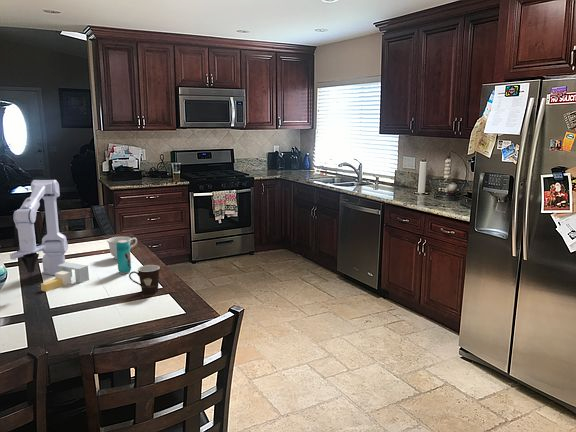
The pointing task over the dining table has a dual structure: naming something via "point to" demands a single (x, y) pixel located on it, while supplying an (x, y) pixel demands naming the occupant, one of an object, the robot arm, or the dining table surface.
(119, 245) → the beverage can
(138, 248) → the dining table surface
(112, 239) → the teacup
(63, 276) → the plug
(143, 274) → the coffee mug
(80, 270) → the housing
